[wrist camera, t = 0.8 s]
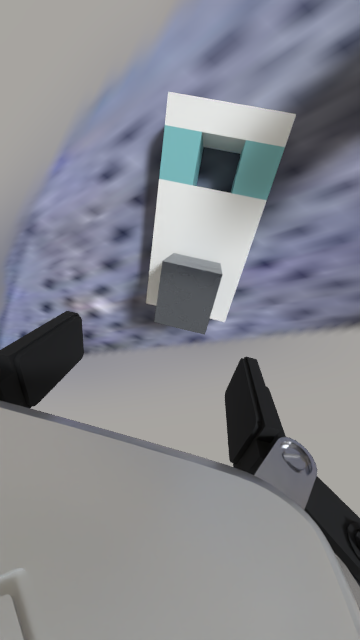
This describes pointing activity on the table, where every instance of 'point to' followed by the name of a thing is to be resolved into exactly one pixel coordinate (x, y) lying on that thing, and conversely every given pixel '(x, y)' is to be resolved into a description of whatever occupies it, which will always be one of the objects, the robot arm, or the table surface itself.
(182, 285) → the grey rectangular block
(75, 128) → the table surface
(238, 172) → the docking board
